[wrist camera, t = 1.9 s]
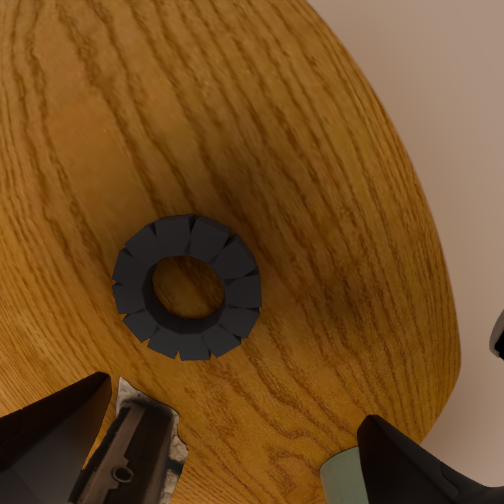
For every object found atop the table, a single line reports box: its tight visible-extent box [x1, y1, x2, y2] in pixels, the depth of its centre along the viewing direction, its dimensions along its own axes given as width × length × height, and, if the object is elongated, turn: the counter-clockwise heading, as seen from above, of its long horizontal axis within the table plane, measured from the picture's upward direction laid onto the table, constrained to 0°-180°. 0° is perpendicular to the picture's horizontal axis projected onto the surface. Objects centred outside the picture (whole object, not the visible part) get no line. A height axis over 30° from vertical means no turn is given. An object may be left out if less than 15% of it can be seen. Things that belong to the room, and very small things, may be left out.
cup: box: [320, 447, 369, 504], centre depth 19 cm, size 7×7×9 cm
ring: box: [112, 214, 262, 361], centre depth 16 cm, size 9×9×2 cm
